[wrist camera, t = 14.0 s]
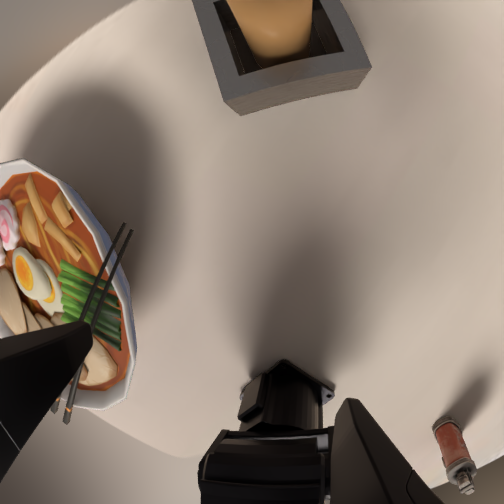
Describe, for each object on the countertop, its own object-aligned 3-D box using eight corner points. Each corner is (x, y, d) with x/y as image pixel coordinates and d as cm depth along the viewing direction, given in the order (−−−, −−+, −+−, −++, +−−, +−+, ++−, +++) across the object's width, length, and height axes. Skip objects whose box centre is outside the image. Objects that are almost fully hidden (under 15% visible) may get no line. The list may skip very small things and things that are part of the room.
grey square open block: (317, -2, 14) (318, -35, 10) (357, 88, 16) (371, 67, 12) (211, 25, 16) (190, -3, 12) (240, 115, 18) (223, 101, 14)
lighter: (427, 427, 23) (446, 493, 14) (451, 411, 22) (476, 475, 13) (443, 447, 24) (460, 502, 14) (464, 433, 23) (484, 487, 13)
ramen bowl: (57, 104, 20) (-7, 98, 12) (240, 249, 21) (204, 297, 13) (7, 282, 28) (-34, 304, 20) (123, 400, 29) (91, 445, 21)
